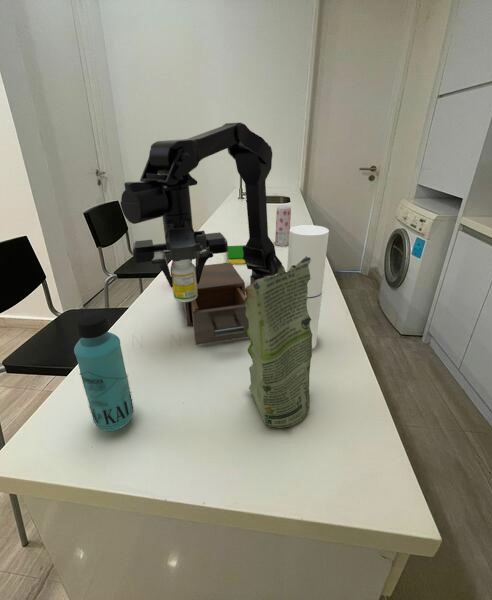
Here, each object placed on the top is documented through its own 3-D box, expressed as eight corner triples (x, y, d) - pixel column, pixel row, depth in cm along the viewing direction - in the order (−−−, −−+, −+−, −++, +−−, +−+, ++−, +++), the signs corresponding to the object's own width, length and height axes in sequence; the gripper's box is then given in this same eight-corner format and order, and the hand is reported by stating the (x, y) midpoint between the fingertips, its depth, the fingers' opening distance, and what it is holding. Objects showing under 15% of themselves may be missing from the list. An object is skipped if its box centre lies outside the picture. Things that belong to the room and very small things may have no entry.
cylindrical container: (296, 355, 69) (306, 237, 57) (276, 338, 74) (281, 228, 63) (323, 345, 71) (337, 231, 60) (301, 329, 77) (311, 223, 66)
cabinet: (245, 317, 83) (245, 282, 79) (187, 326, 80) (183, 290, 76) (231, 293, 96) (230, 262, 91) (181, 300, 93) (177, 268, 89)
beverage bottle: (100, 410, 57) (72, 307, 48) (139, 406, 57) (119, 304, 48) (90, 441, 51) (56, 331, 42) (133, 437, 51) (109, 327, 42)
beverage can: (291, 243, 136) (293, 206, 129) (285, 246, 132) (287, 208, 125) (278, 241, 139) (280, 204, 132) (272, 244, 135) (274, 207, 128)
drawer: (261, 347, 70) (262, 315, 66) (198, 357, 67) (196, 324, 64) (239, 308, 86) (238, 280, 82) (187, 315, 83) (185, 287, 80)
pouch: (244, 430, 52) (244, 285, 40) (244, 379, 62) (243, 253, 51) (316, 431, 51) (336, 284, 40) (303, 379, 62) (316, 251, 50)
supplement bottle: (191, 304, 70) (187, 261, 65) (169, 300, 72) (163, 259, 67) (202, 293, 74) (198, 252, 70) (181, 290, 76) (176, 250, 72)
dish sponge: (245, 251, 129) (245, 245, 128) (248, 263, 117) (248, 257, 116) (227, 251, 129) (227, 245, 128) (228, 264, 117) (227, 257, 116)
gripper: (125, 227, 56) (140, 308, 63) (233, 217, 59) (235, 295, 66) (128, 213, 65) (140, 284, 73) (220, 204, 68) (223, 274, 76)
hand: (184, 284), depth 71 cm, fingers closed on supplement bottle, 5 cm apart
